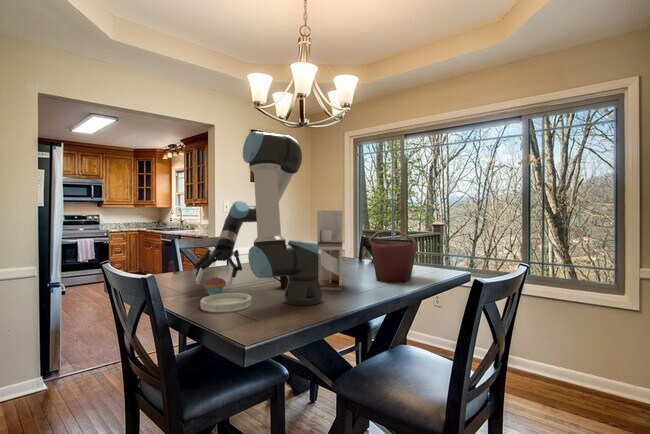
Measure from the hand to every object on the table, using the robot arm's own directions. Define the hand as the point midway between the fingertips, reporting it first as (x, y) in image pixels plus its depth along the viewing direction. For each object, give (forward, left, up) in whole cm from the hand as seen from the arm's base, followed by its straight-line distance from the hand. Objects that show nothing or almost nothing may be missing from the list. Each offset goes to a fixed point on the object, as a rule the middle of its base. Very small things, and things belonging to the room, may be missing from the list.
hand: (213, 283), depth 144 cm
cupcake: (0, -2, -5) cm, 6 cm away
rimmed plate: (-14, +10, -5) cm, 18 cm away
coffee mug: (-20, -26, -5) cm, 33 cm away
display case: (-40, -32, -5) cm, 51 cm away
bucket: (-64, -59, -6) cm, 87 cm away
